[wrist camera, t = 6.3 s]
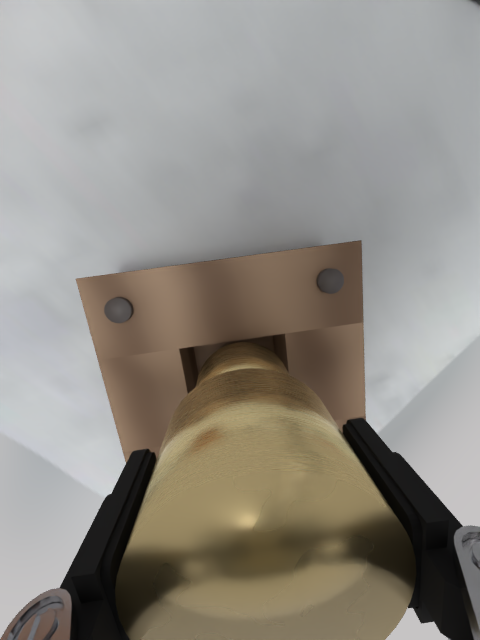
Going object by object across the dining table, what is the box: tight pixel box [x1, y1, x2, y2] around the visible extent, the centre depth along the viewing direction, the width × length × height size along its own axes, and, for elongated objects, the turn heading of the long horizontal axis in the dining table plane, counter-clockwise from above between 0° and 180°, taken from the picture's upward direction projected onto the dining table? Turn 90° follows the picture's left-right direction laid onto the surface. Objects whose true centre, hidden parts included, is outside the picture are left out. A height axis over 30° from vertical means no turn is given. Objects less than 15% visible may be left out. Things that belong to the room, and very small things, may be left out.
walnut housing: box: [76, 240, 366, 463], centre depth 19 cm, size 16×16×6 cm
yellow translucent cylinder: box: [115, 342, 416, 640], centre depth 11 cm, size 7×7×10 cm
